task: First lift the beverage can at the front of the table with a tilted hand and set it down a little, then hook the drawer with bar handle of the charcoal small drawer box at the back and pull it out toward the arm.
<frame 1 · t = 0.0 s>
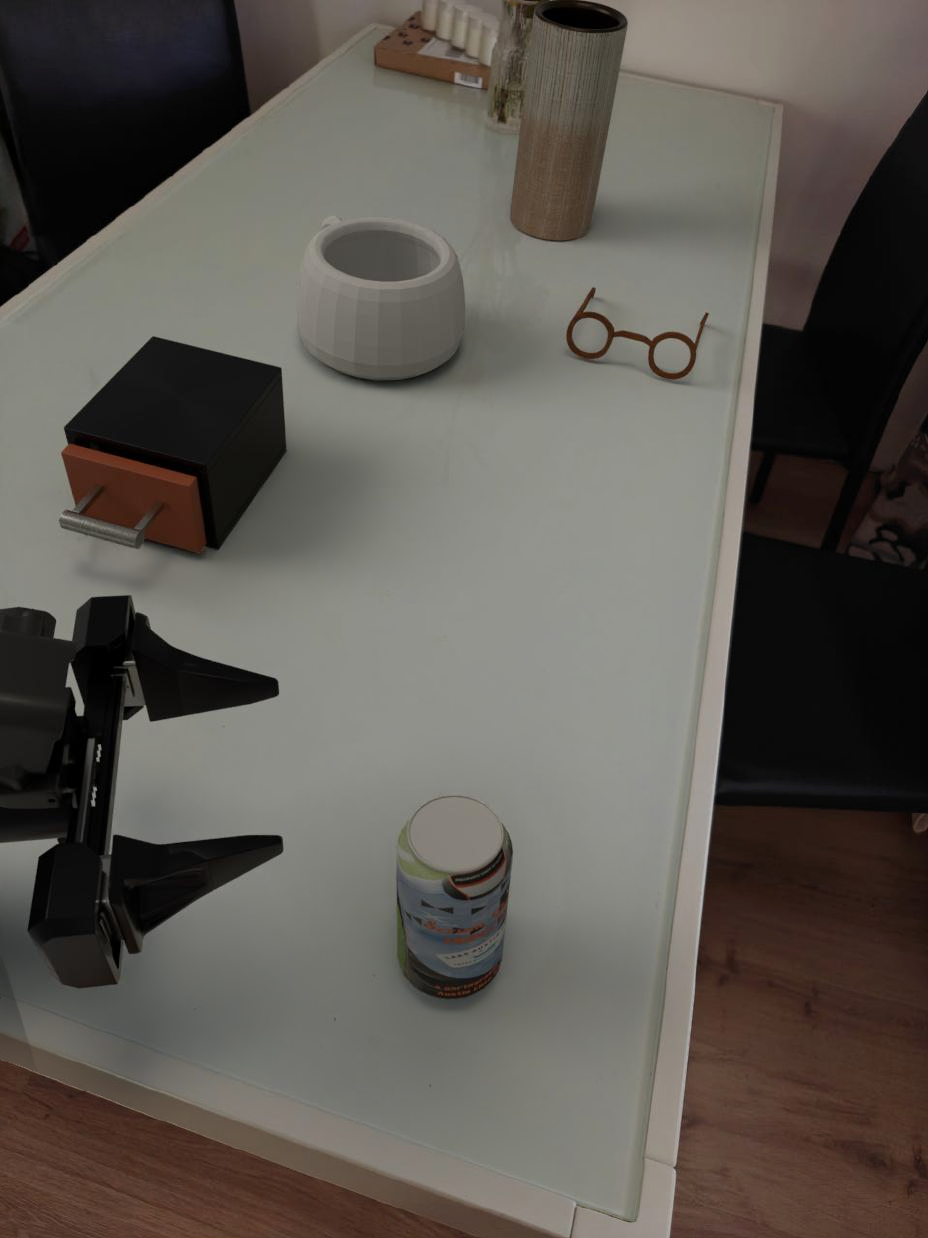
hand: (280, 760, 49), 15 cm above the table, tool horizontal, fingers open, 9 cm apart
drawer with bar handle: (157, 473, 78), point 4 cm above the table, slide at 0.5 cm
glasses: (636, 341, 105), on the table
small drawer box: (190, 480, 84), on the table
mug: (369, 332, 102), on the table
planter: (549, 223, 121), on the table
beverage can: (444, 948, 58), on the table
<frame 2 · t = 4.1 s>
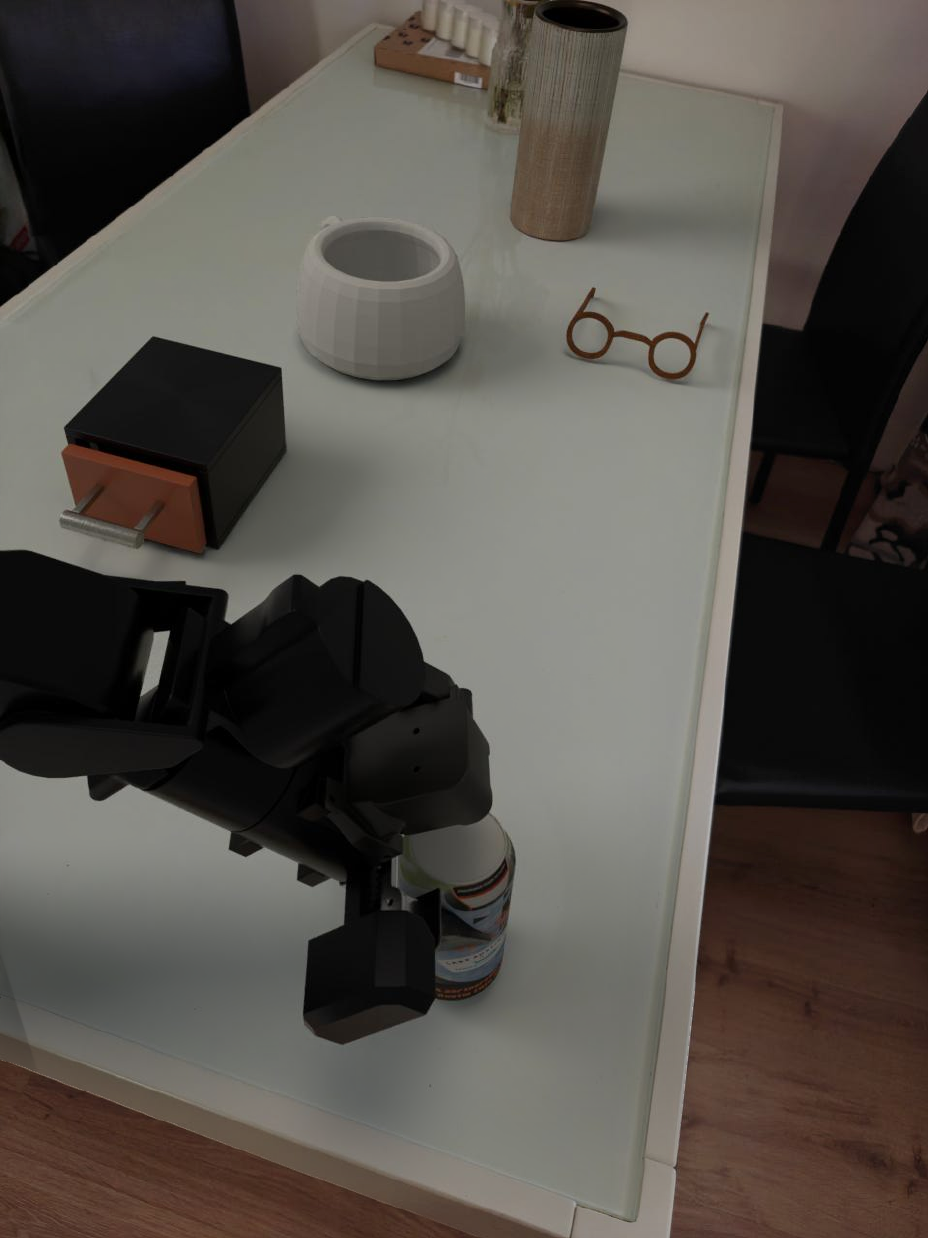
hand: (482, 887, 53), 7 cm above the table, tool tilted 45°, fingers closed on beverage can, 6 cm apart
beverage can: (445, 947, 58), on the table, touching gripper
everything else where it was.
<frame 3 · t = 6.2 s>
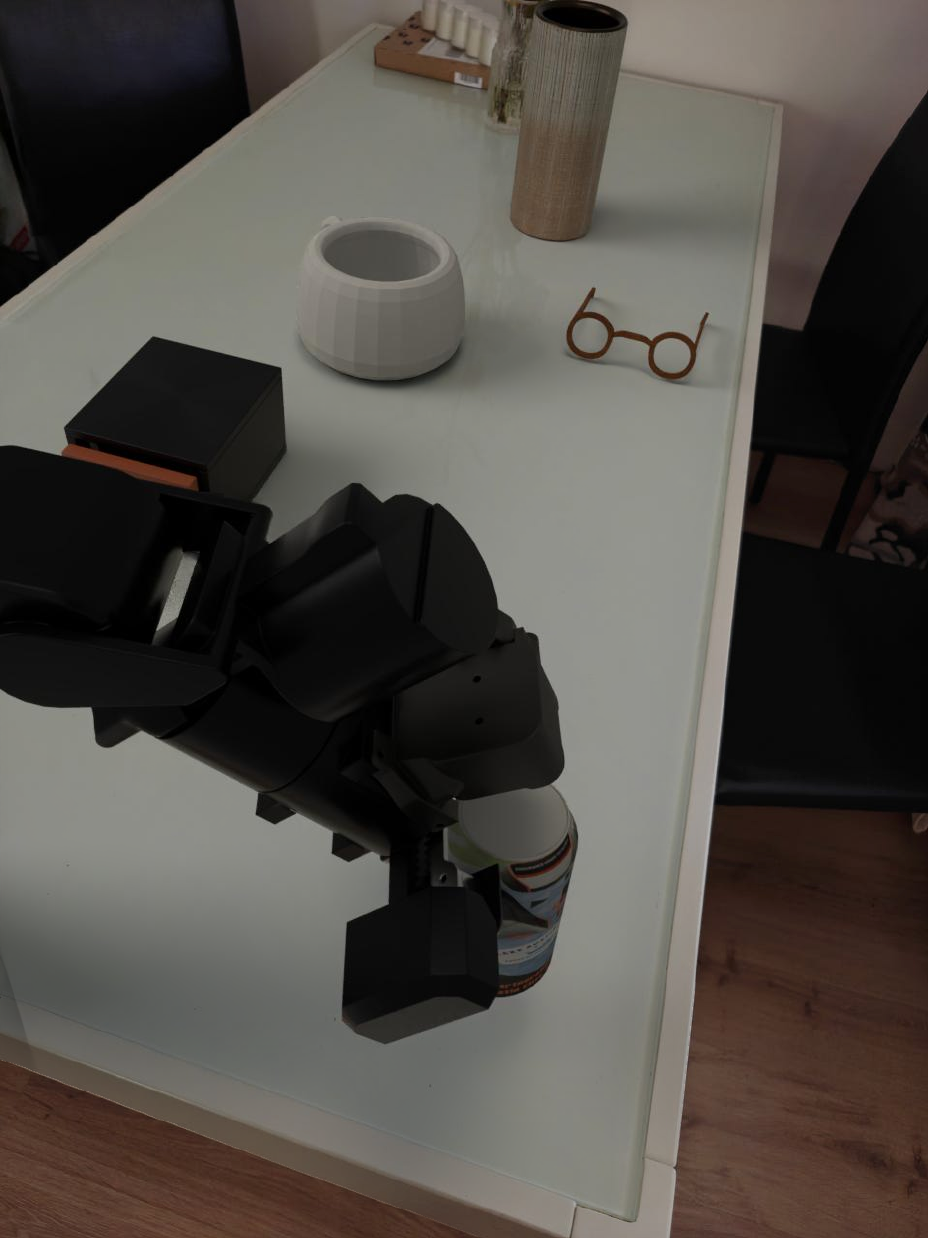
hand: (535, 868, 47), 13 cm above the table, tool tilted 45°, fingers closed on beverage can, 6 cm apart
beverage can: (486, 938, 52), point 7 cm above the table, touching gripper
everything else where it was.
when the fingers open (7 cm above the table, at t = 8.7 s): beverage can stays where it is, on the table.
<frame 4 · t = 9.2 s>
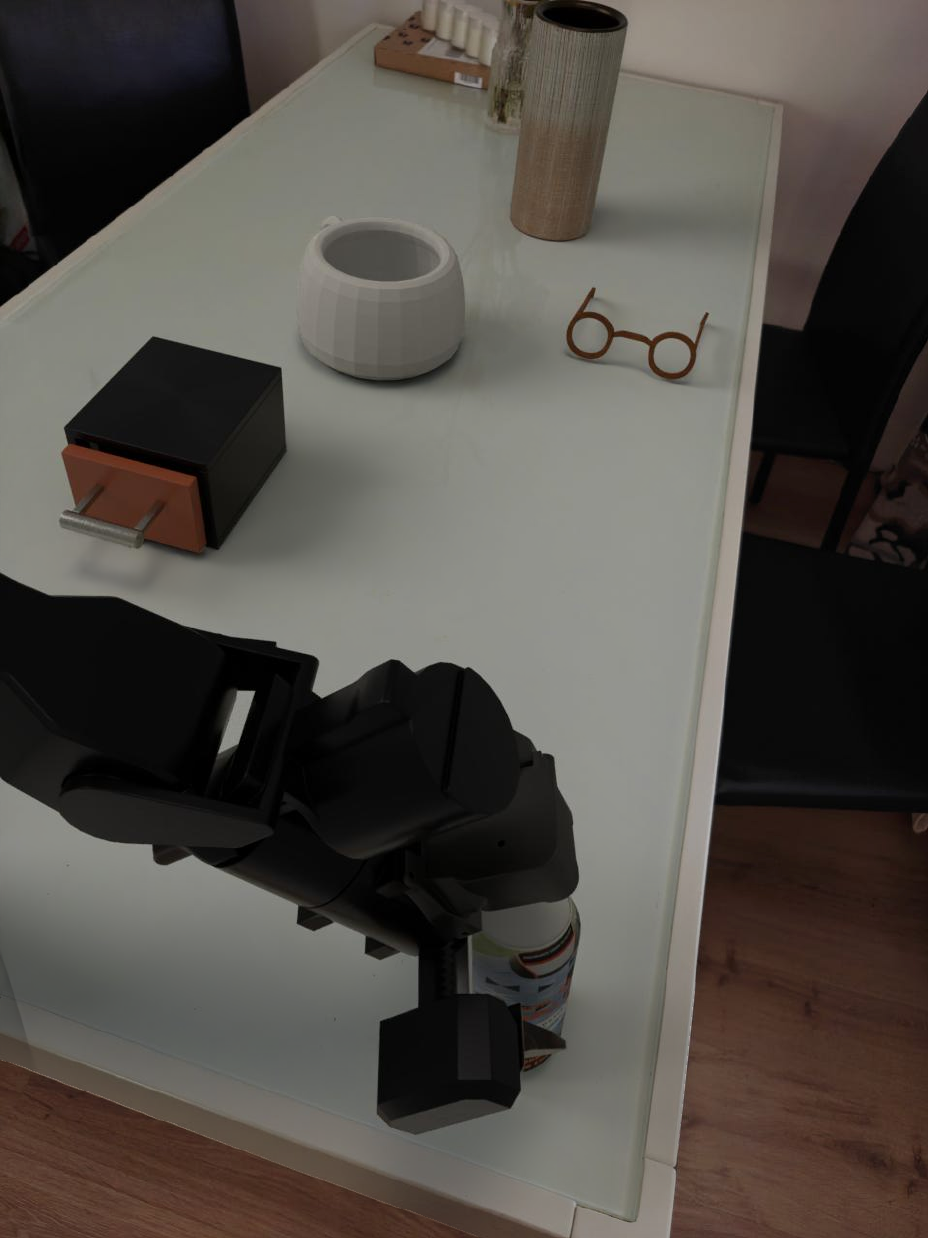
hand: (551, 955, 51), 7 cm above the table, tool tilted 45°, fingers open, 9 cm apart
beverage can: (500, 1016, 56), on the table
everything else where it was.
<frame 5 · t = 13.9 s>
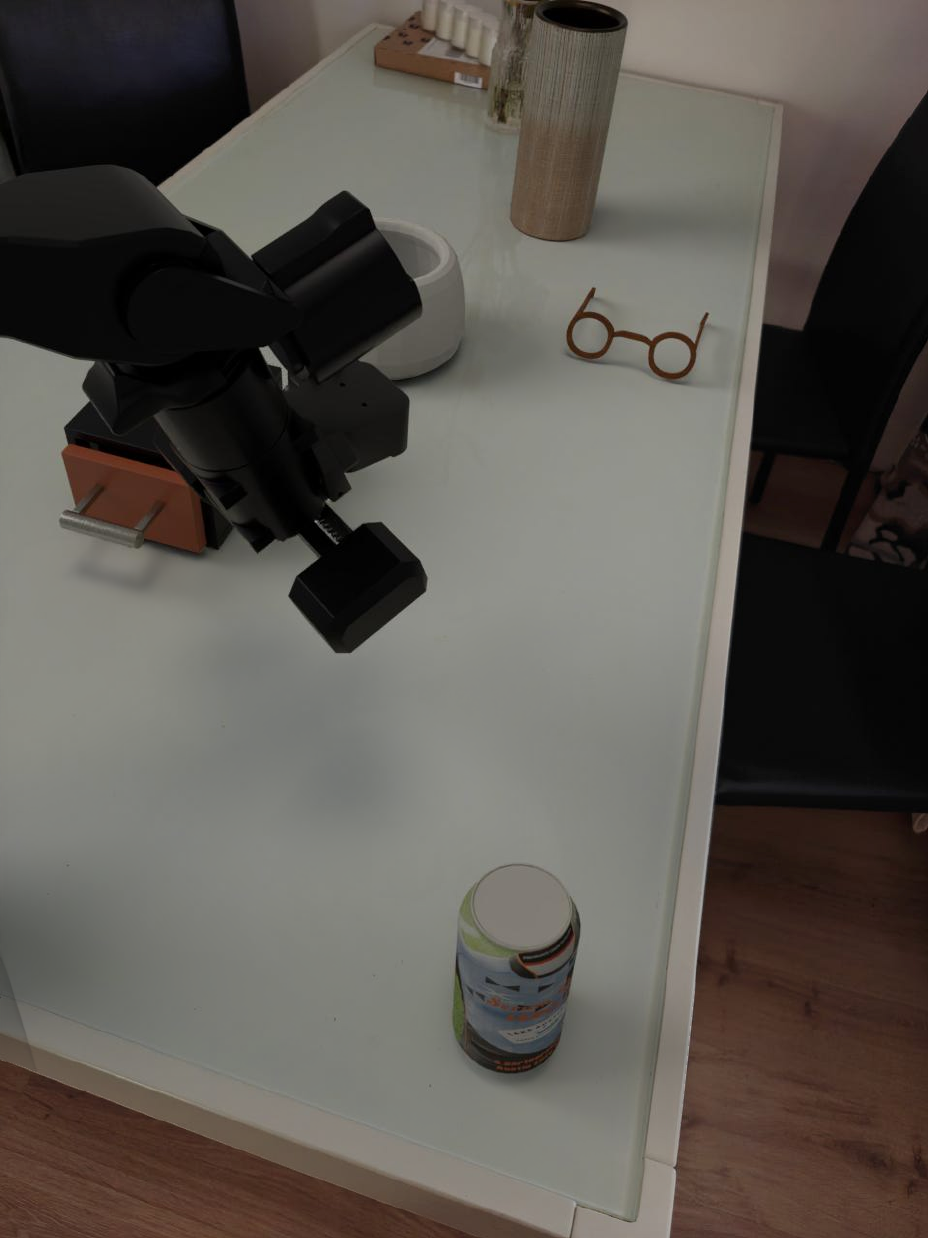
hand: (328, 579, 62), 11 cm above the table, tool tilted 20°, fingers open, 9 cm apart
nothing on the table moved.
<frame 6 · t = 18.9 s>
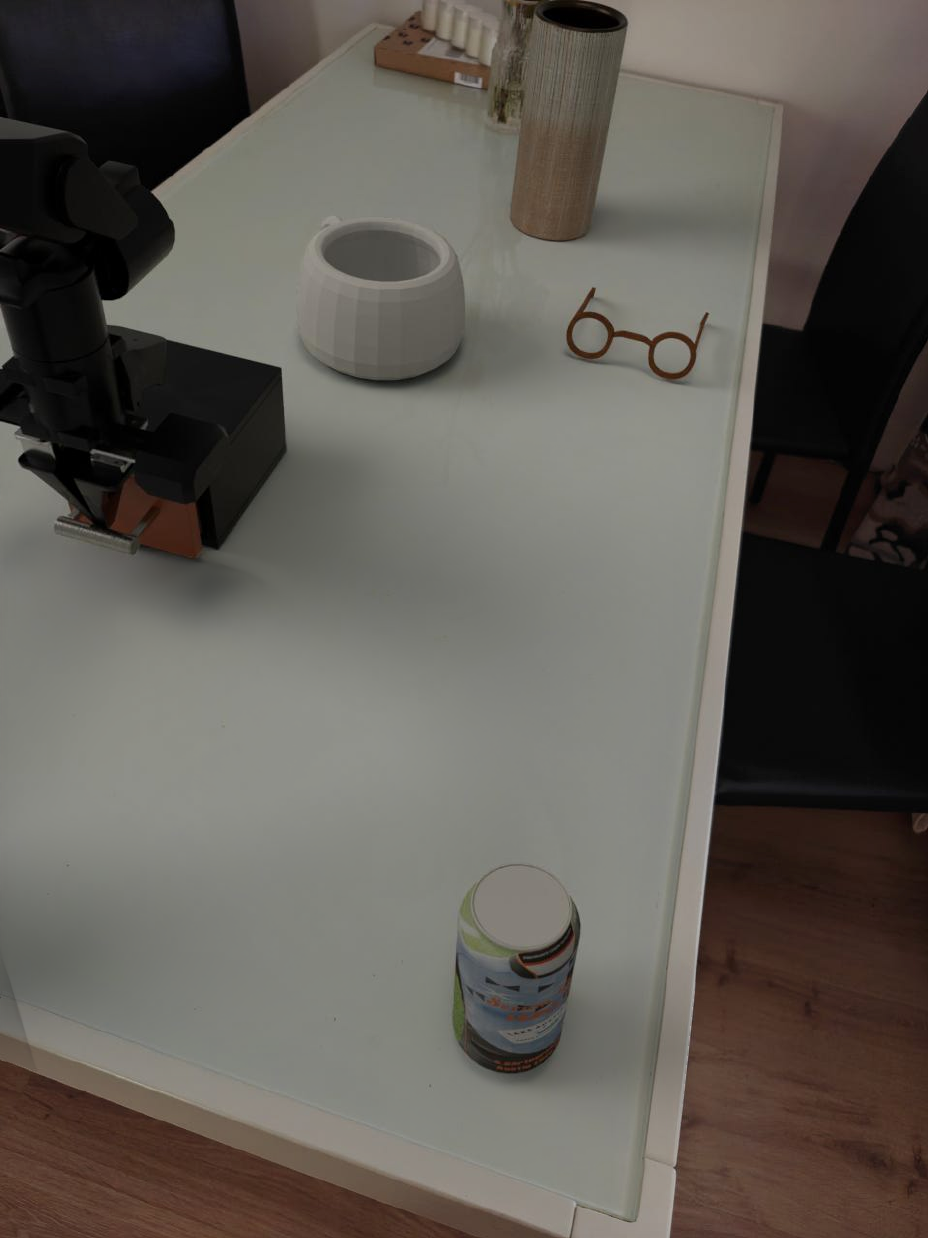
hand: (106, 525, 72), 5 cm above the table, tool pointing down, fingers closed, pressing on drawer with bar handle
drawer with bar handle: (152, 478, 77), point 4 cm above the table, slide at 1.2 cm, touching gripper
everything else where it was.
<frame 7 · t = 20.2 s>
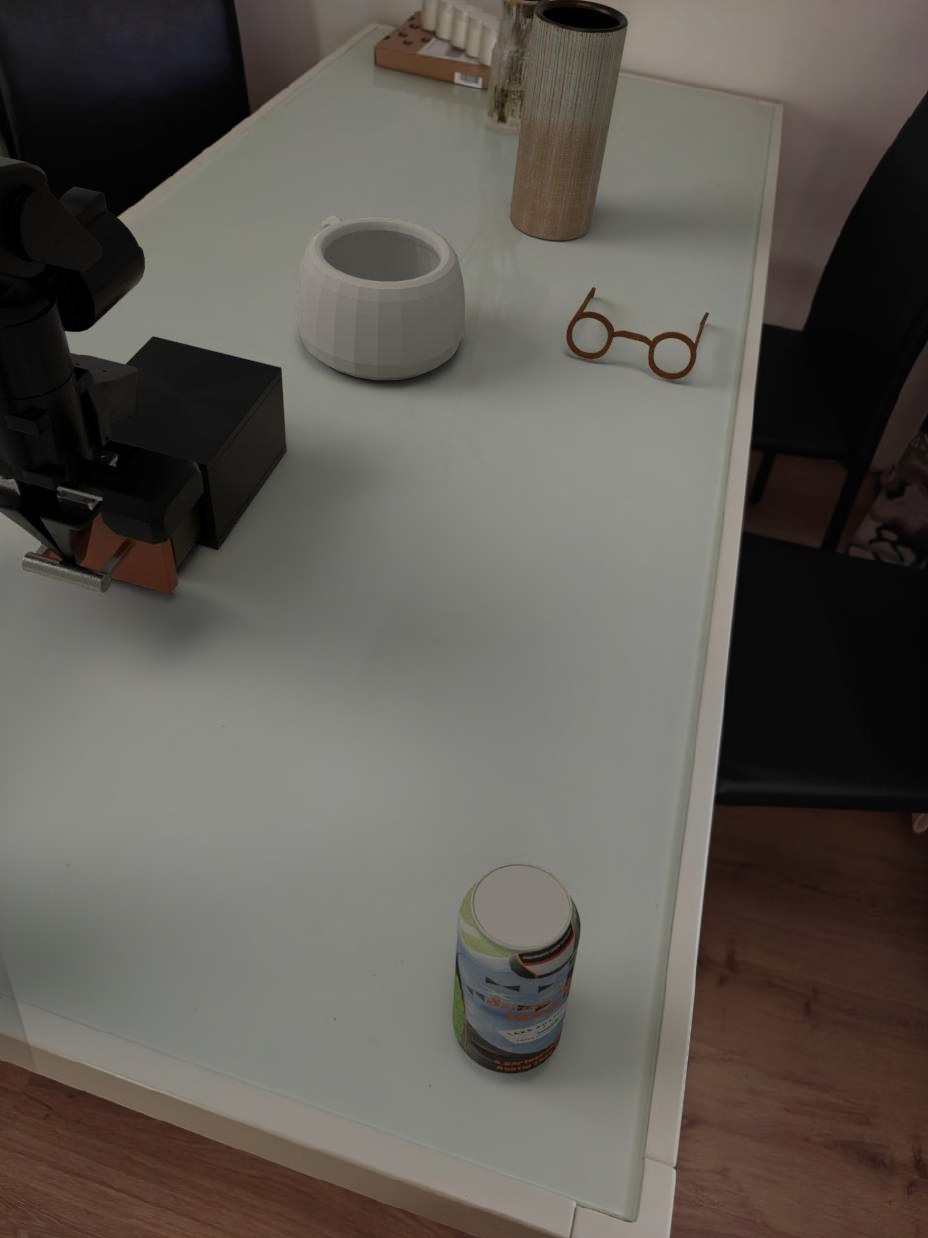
hand: (76, 561, 70), 5 cm above the table, tool pointing down, fingers closed, pressing on drawer with bar handle
drawer with bar handle: (126, 510, 75), point 4 cm above the table, slide at 5.2 cm, touching gripper
everything else where it was.
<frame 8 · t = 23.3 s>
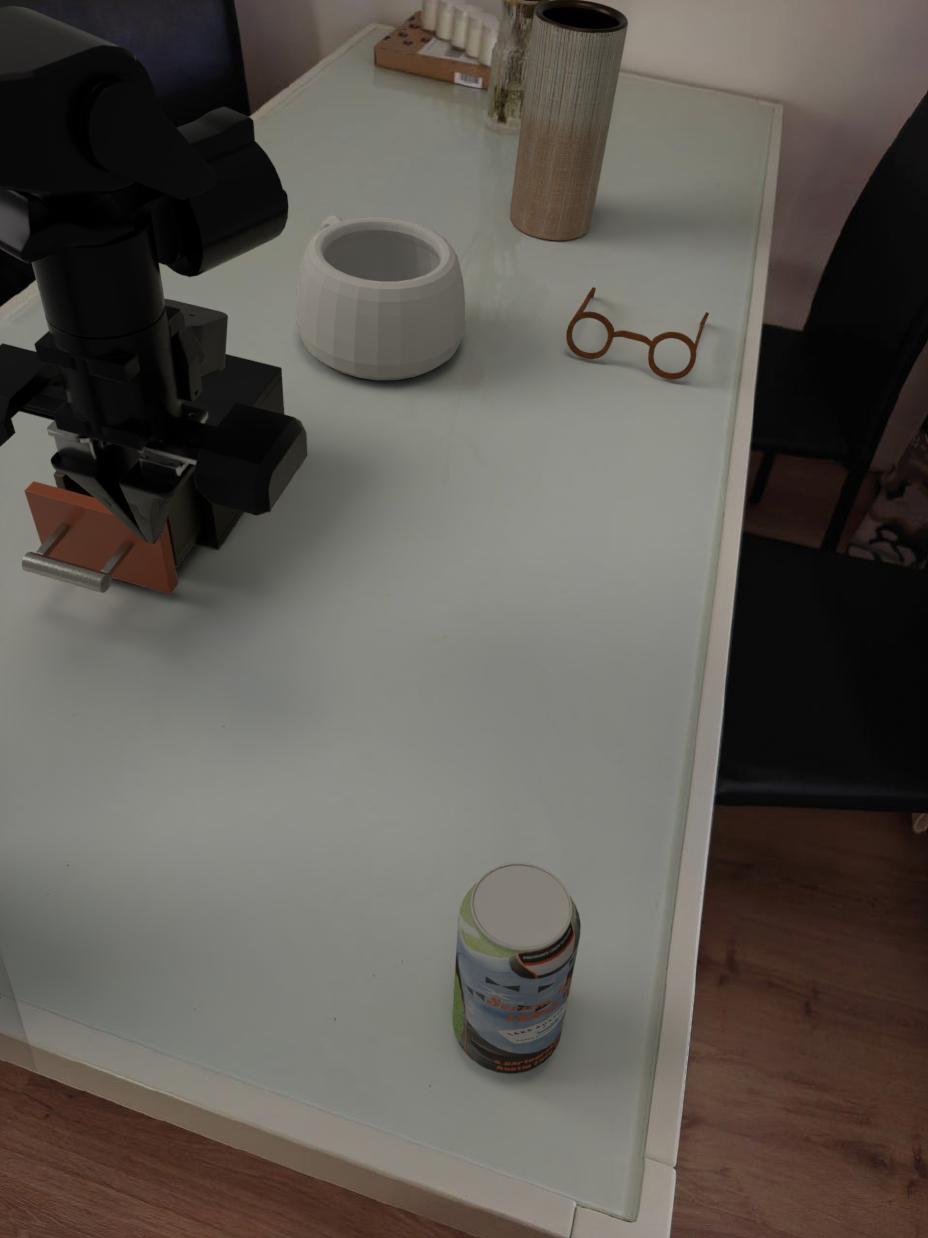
hand: (152, 538, 61), 13 cm above the table, tool pointing down, fingers closed
drawer with bar handle: (126, 510, 75), point 4 cm above the table, slide at 5.2 cm
everything else where it was.
at the end: beverage can inside the target area (0.4 cm from its centre), on the table; beverage can tilted 0°; drawer with bar handle slide at 5.2 cm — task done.
